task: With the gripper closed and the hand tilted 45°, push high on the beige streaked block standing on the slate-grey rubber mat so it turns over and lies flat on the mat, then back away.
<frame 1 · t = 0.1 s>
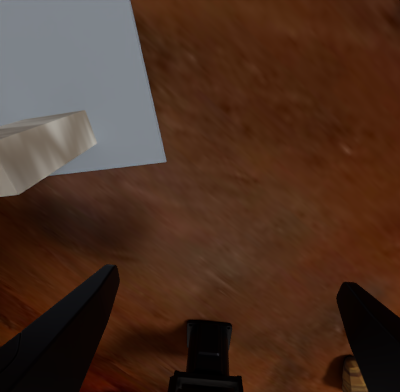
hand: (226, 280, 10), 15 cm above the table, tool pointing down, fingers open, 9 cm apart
croissant: (357, 372, 39), on the table
mat: (44, 56, 19), on the table
beige streaked block: (61, 131, 22), resting on mat
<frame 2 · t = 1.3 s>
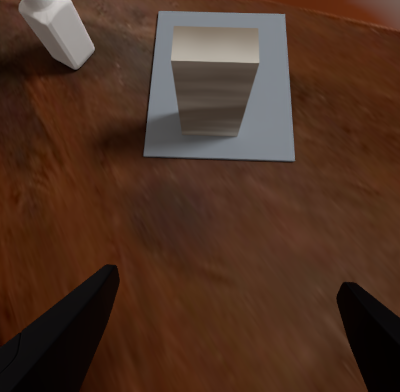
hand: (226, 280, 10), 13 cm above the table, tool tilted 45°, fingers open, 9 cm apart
pepper shaker: (76, 56, 29), on the table
mat: (220, 80, 28), on the table
beige streaked block: (210, 123, 26), resting on mat
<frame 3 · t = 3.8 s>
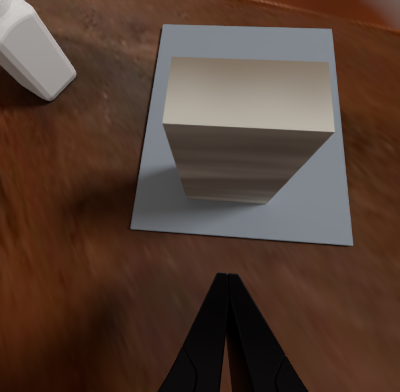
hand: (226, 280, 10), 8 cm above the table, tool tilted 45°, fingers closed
pepper shaker: (52, 82, 22), on the table
mat: (242, 119, 20), on the table
beige streaked block: (227, 182, 18), resting on mat
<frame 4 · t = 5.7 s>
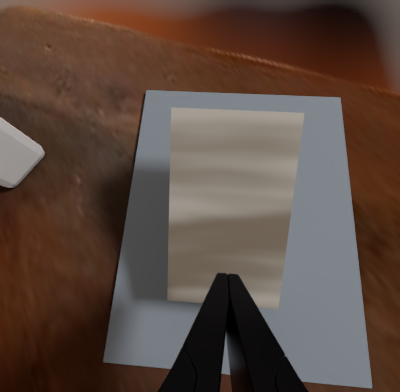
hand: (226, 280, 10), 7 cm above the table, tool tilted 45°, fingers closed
pepper shaker: (18, 161, 19), on the table
mat: (237, 212, 17), on the table
beige streaked block: (221, 288, 14), point 2 cm above the table, tilted 62°, touching mat
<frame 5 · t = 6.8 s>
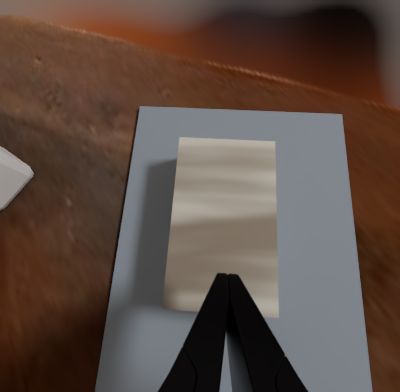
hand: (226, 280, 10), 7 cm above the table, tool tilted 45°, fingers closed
pepper shaker: (6, 181, 18), on the table
mat: (235, 236, 16), on the table
beige streaked block: (218, 308, 14), point 2 cm above the table, tilted 90°, touching mat
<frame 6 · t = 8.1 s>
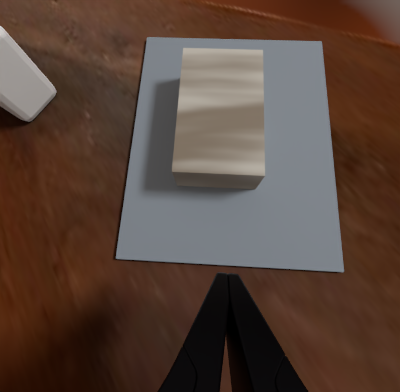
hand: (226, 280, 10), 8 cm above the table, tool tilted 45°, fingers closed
pepper shaker: (32, 100, 21), on the table
mat: (230, 138, 19), on the table
beige streaked block: (216, 181, 17), point 2 cm above the table, tilted 90°, touching mat
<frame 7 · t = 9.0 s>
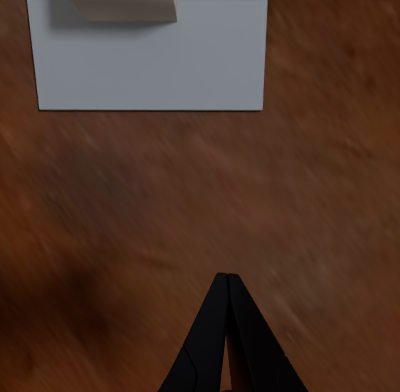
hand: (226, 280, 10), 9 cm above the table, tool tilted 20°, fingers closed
beige streaked block: (126, 8, 15), point 2 cm above the table, tilted 90°, touching mat
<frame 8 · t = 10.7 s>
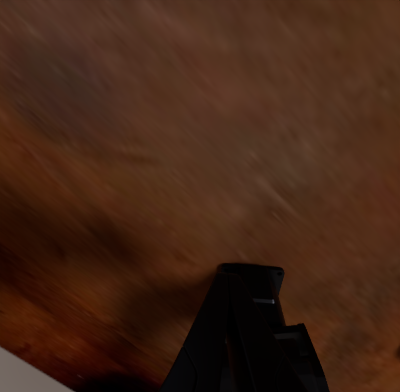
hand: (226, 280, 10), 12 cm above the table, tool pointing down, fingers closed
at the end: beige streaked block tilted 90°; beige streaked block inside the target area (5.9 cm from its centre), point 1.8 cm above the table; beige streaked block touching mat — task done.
